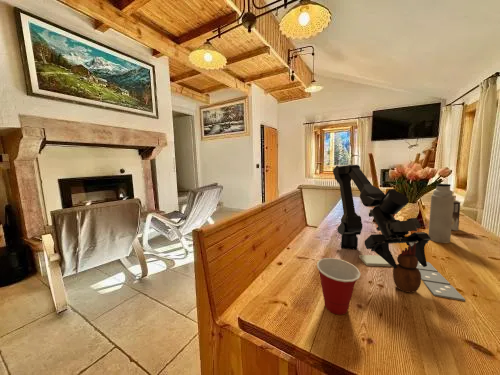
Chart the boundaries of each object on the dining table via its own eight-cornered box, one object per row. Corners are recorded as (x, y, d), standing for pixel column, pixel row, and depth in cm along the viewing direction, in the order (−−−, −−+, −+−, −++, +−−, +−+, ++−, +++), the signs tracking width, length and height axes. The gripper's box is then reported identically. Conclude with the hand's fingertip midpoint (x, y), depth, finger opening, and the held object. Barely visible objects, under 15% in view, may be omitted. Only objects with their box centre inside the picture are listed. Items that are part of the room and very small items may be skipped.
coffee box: (455, 227, 116) (457, 200, 114) (458, 231, 111) (461, 202, 109) (434, 225, 121) (436, 199, 119) (436, 228, 116) (438, 201, 114)
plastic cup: (348, 330, 48) (349, 283, 46) (308, 307, 56) (308, 266, 54) (365, 308, 55) (367, 267, 53) (328, 290, 63) (328, 254, 61)
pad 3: (433, 295, 59) (433, 293, 59) (423, 282, 65) (423, 281, 65) (465, 301, 56) (465, 299, 56) (451, 286, 63) (451, 285, 63)
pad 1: (413, 269, 74) (413, 267, 74) (406, 260, 80) (406, 259, 80) (437, 272, 71) (437, 271, 71) (428, 263, 77) (429, 261, 77)
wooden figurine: (416, 286, 63) (419, 241, 62) (422, 297, 58) (426, 248, 57) (390, 281, 66) (392, 238, 65) (394, 291, 61) (397, 244, 59)
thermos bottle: (425, 236, 105) (428, 183, 101) (444, 237, 102) (448, 183, 99) (433, 242, 97) (437, 184, 94) (454, 243, 94) (459, 184, 91)
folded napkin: (366, 265, 77) (366, 263, 77) (359, 257, 84) (359, 255, 84) (394, 266, 76) (394, 264, 76) (384, 258, 83) (384, 255, 82)
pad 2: (422, 280, 66) (422, 279, 66) (414, 270, 73) (414, 269, 73) (449, 285, 64) (450, 283, 64) (439, 273, 70) (439, 272, 70)
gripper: (371, 210, 63) (396, 259, 53) (427, 207, 64) (462, 256, 54) (356, 226, 72) (375, 272, 62) (405, 224, 73) (433, 268, 63)
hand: (410, 267), depth 60 cm, fingers open, 9 cm apart
